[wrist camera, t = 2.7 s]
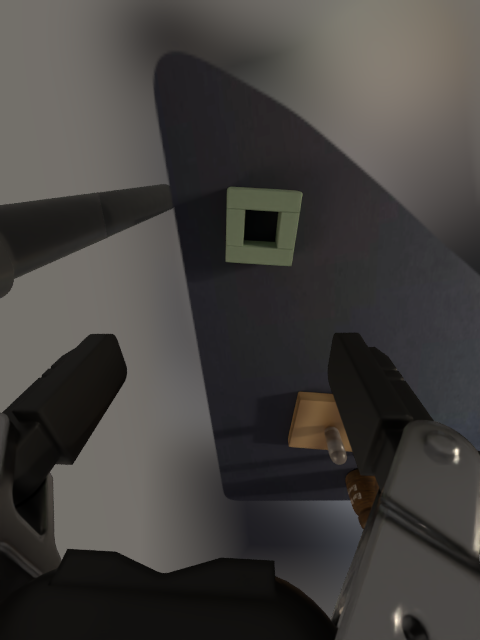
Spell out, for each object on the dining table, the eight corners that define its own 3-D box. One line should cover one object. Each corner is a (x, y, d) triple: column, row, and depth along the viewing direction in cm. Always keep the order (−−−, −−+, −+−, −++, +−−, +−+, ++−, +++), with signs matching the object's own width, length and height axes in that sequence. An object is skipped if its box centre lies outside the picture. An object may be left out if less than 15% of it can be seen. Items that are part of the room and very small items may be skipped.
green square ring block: (228, 254, 25) (225, 262, 23) (229, 186, 22) (226, 188, 20) (288, 258, 25) (291, 266, 23) (298, 190, 22) (302, 192, 20)
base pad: (287, 437, 39) (293, 482, 34) (298, 391, 34) (307, 434, 29) (352, 442, 39) (369, 488, 34) (373, 396, 34) (396, 441, 28)
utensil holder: (381, 465, 42) (423, 562, 31) (378, 486, 45) (416, 580, 34) (344, 467, 42) (373, 562, 32) (343, 487, 46) (370, 580, 35)
